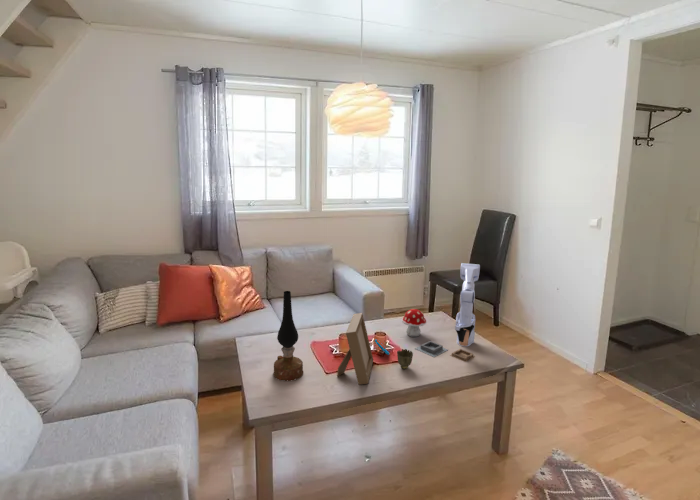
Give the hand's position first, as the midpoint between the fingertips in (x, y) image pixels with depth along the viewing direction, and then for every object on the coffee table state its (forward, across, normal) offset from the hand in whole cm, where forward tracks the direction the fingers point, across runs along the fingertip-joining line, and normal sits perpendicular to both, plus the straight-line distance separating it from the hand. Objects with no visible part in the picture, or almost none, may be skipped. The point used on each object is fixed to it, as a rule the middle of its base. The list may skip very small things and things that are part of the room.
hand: (463, 340), depth 208 cm
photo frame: (+10, +50, -26) cm, 57 cm away
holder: (+10, 0, 0) cm, 10 cm away
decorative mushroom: (+10, -3, -34) cm, 35 cm away
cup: (+10, +30, -12) cm, 34 cm away
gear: (+10, +27, -30) cm, 42 cm away
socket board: (+10, +6, -14) cm, 18 cm away
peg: (+2, 0, 0) cm, 2 cm away
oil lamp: (+10, +74, -44) cm, 87 cm away
